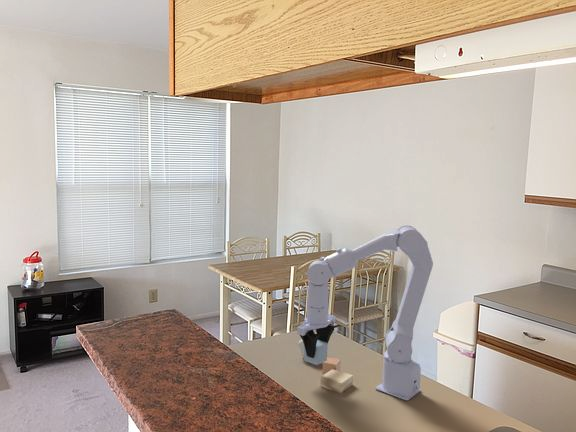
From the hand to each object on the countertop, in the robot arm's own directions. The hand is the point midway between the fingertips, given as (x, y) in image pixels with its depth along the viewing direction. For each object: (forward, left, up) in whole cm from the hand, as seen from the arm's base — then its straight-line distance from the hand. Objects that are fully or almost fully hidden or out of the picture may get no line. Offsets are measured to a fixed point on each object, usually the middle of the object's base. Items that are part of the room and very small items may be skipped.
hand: (316, 354), depth 132 cm
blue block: (0, 0, -2) cm, 2 cm away
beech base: (-5, -3, -9) cm, 10 cm away
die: (+11, -13, -9) cm, 19 cm away
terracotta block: (0, -8, -8) cm, 11 cm away
